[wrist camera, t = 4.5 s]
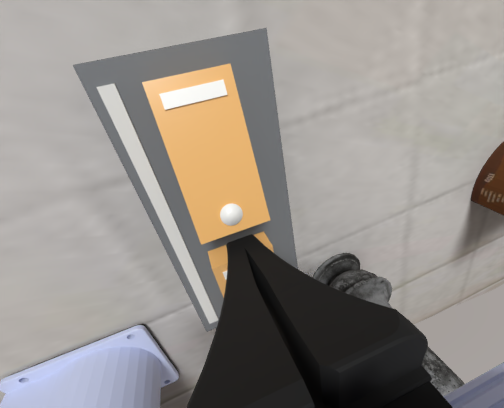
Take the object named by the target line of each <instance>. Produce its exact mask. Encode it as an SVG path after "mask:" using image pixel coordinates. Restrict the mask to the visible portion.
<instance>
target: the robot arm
mask: <svg viewBox="0 0 504 408" xmlns="http://www.w3.org/2000/svg"><path fill="white" fill-rule="evenodd" d="M226 247H227V254H228V266H227V280H226V287H225V294H224V300H223V305H222V309H221V314H220V318H219V321H218V325H217V329H216V332H215V335H214V339H213V342H212V345H211V348H210V350H209V353H208V356H207V359H206V362H205V365H204V367H203V370H202V372H201V375H200V377H199V380H198V382H197V384H196V387H195V389H194V391H193V394H192V396H191V398H190V401H189V403H188V406H187V408H504V362H503V363H501V364H500V365H498V366H496V367H494V368H493V369H491V370H489V371H487V372H486V373H484V374H482V375H480V376H479V377H477V378H475V379H473V380H471V381H470V382H468V383H466V384H464V385H463V386H461V387H459V388H457V389H456V390H454V391H452V392H450V393H449V394H447V395H445V396H442V394H441V393H440V392H439V391H438V390H437V389H436V388H435V386H434V385H433V384H432V383H431V382H430V381H431V380H432V377H431V375H430V374H429V373H428V372H427V371H426V370H425V369H424V367H423V366H422V365H421V364H422V361H423V359H424V356H425V353H426V351H427V346H428V342H427V339H426V337H425V336H424V335H423V334H422V333H421V332H420V331H419V330H418V329H417V328H416V327H415V326H414V325H413V324H412V323H411V322H410V321H409V320H408V319H406V318H405V317H404V316H403V315H402V314H400V313H399V312H398V311H397V310H396V309H392V308H389V307H386V306H382V305H379V304H376V303H373V302H369V301H366V300H363V299H360V298H358V297H355V296H352V295H349V294H347V293H345V292H342V291H340V290H338V289H335V288H333V287H331V286H328V285H326V284H324V283H322V282H320V281H318V280H316V279H314V278H312V277H310V276H308V275H307V274H305V273H303V272H301V271H300V270H298V269H296V268H295V267H293V266H292V265H290V264H289V263H287V262H286V261H284V260H283V259H281V258H280V257H279V256H277V255H276V254H275V253H273V252H272V251H271V250H270V249H268V248H267V247H266V246H265V245H264V244H263V243H261V242H260V241H259V240H258V239H257V238H256V237H255V236H254V235H252V234H251V235H248V236H245V237H242V238H239V239H237V240H234V241H231V242H228V243H227V245H226ZM178 378H179V374H178V372H177V370H176V369H175V368H174V366H173V365H172V363H171V362H170V361H169V359H168V358H167V356H166V355H165V354H164V352H163V351H162V350H161V348H160V347H159V345H158V344H157V343H156V341H155V340H154V338H153V337H152V336H151V334H150V333H149V332H148V330H147V329H146V327H145V326H143V325H137V326H134V327H131V328H129V329H126V330H124V331H121V332H119V333H116V334H114V335H111V336H109V337H106V338H104V339H101V340H99V341H96V342H94V343H91V344H89V345H86V346H84V347H81V348H78V349H76V350H73V351H71V352H68V353H66V354H63V355H61V356H58V357H56V358H53V359H51V360H48V361H46V362H43V363H41V364H38V365H36V366H33V367H31V368H28V369H26V370H23V371H21V372H18V373H15V374H13V375H10V376H8V377H5V378H4V379H2V380H1V381H0V391H2V392H3V393H5V396H4V398H3V400H2V402H1V403H0V408H160V394H161V388H162V387H164V386H166V385H168V384H171V383H173V382H175V381H176V380H177V379H178Z"/></svg>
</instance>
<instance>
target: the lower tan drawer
mask: <svg viewBox="0 0 504 408" xmlns="http://www.w3.org/2000/svg"><path fill="white" fill-rule="evenodd" d="M254 236H255V237H256V238H257V239H258V240H259V241H260V242H261V243H263V244H264V245H265V246H266V247H267V248H268V249H270V250H271V251H272V252H273V253H274V251H273V246H272V244H271V242H270V241H269V239H268V237H267V236H266V234H265V233H264V231H263V232H260V233H257V234H255V235H254ZM208 255H209V259H210V263H211V268H212V271H213V273H214V276H215V278H216V280H217V283H218V285H219V288H220V290H221V293H222V295H223V298H224V294H225V287H226V280H227V266H228V254H227V247H226V245H224V246H221V247H219V248H216V249H213V250H210V251H208Z"/></svg>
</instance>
